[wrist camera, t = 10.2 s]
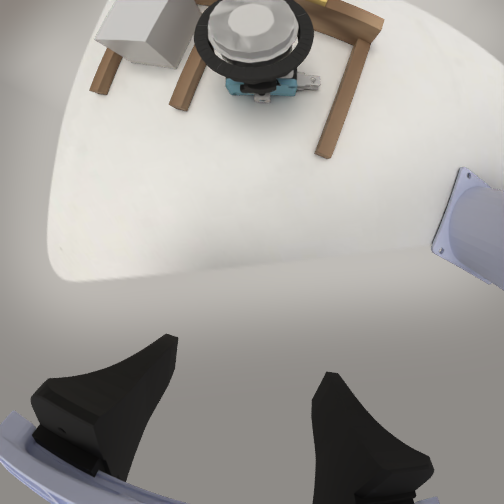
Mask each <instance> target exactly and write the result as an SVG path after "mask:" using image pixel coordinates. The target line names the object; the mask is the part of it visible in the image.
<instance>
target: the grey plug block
mask: <svg viewBox="0 0 504 504" xmlns="http://www.w3.org/2000/svg"><path fill="white" fill-rule="evenodd" d="M201 15H202V13H201V12H200V10H199V8H198V6H197V4H196V2H195V1H194V0H116V1H115V2H114V4H113V6H112V7H111V9H110V11H109V12H108V14H107V16H106V18H105V19H104V21H103V23H102V25H101V27H100V29H99V31H98V32H97V34H96V36H95V38H94V40H96V41H97V42H99V43H101V44H102V45H104V46H106V47H107V48H109V49H111V50H112V51H114V52H116V53H117V54H119V55H120V56H122V57H124V58H125V59H127V60H128V61H130V62H131V63H139V64H146V65H153V66H160V67H166V68H172V69H177V67H178V65H179V63H180V61H181V59H182V57H183V54H184V52H185V50H186V48H187V46H188V44H189V42H190V40H191V38H192V36H193V34H194V32H195V28H196V25H197V22H198V20H199V18H200V17H201Z"/></svg>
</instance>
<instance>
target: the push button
mask: <svg viewBox="0 0 504 504" xmlns="http://www.w3.org/2000/svg"><path fill="white" fill-rule="evenodd" d="M297 37H298V44H297V46H296V47H295V49H294V50H293V51H292V44H293V43H294V42H295V40H296V38H297ZM313 38H314V29H313V24H312V21H311V19H310V17H309V15H308V14H307V12H306V11H305V10H304V9H303V7H302V6H300V5H299V4H298V3H297V2H296V1H294V0H217V1H216V2H214V3H213V4H212V5H210V6H209V7H208V8H207V9H206V10H205V11H204V12H203V14H202V15H201V17H200V18H199V20H198V22H197V25H196V28H195V32H194V42H195V47H196V50H197V52H198V54H199V55H200V57H201V59H202V60H203V61H204V62H205V64H206V65H207V66H208V67H210V68H211V69H212V70H213V71H215V72H217V73H218V74H220V75H222V76H225V77H226V88H227V89H228V91H229V93H230V94H231V95H254V99H255V102H260V103H269V102H271V101H270V95H281V96H295V94H296V90H304V88H305V89H316V90H317V89H319V86H320V76H315V75H305V73H301V72H297V67H298V66H299V65H300V64H301V63H302V62H303V61H304V59H305V58H306V57H307V55H308V54H309V51H310V49H311V46H312V43H313ZM214 49H215V50H216V51H217V52H219V53H220V54H221V55H222V57H223V59H224V60H225V61H223V60H222V59H220V58H219V57H218V56H217V55H215V53H214ZM311 78H315V79H316V80H314V79H311ZM312 82H313V83H312ZM310 85H313V86H310ZM261 100H265V101H261Z"/></svg>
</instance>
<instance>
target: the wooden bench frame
mask: <svg viewBox="0 0 504 504" xmlns="http://www.w3.org/2000/svg"><path fill="white" fill-rule="evenodd" d="M194 1H195V2H196V4H200V5H209V6H210V5H212V4H213V3H214V2H216V1H217V0H194ZM294 1H296V2H297V3H298V4H299V5H300V6H302V7H303V9H304V10H305V11H306V12H307V14H308V15H309V17H310V19H311V21H312V24H313V29H314V30H315V31H318V32H321V33H324V34H326V35H329V36H332V37H334V38H337V39H339V40H342V41H344V42H347V43H349V44H351V45H354V46H353V49H352V52H351V55H350V58H349V61H348V63H347V66H346V69H345V72H344V75H343V78H342V80H341V83H340V86H339V89H338V91H337V94H336V97H335V100H334V102H333V105H332V108H331V111H330V113H329V116H328V119H327V121H326V124H325V127H324V129H323V132H322V135H321V137H320V140H319V143H318V145H317V148H316V151H315V153H314V154H317V155H319V156H321V157H324V158H326V159H329V158H331V156H332V154H333V151H334V149H335V146H336V143H337V140H338V138H339V135H340V132H341V130H342V127H343V124H344V121H345V119H346V116H347V113H348V110H349V107H350V104H351V102H352V99H353V96H354V93H355V90H356V87H357V84H358V81H359V78H360V75H361V72H362V69H363V66H364V63H365V60H366V57H367V54H368V51H369V48H370V45H371V43H372V42H373V40H374V39H375V38H376V36H377V35H378V34H379V33H380V31H381V29H382V26H383V23H384V19H383V18H381V17H378V16H376V15H374V14H372V13H370V12H368V11H365V10H363V9H361V8H358V7H356V6H354V5H351V4H349V3H346V2H344V1H341V0H294ZM121 59H122V56H120V55H119V54H117V53H116V52H114V51H112V50H111V49H109V48H107V49H106V51H105V54H104V56H103V58H102V60H101V63H100V65H99V67H98V70H97V72H96V74H95V77H94V79H93V82H92V85H91V87H90V90H89V91H92V92H95V93H98V94H104V95H107V93H108V91H109V88H110V85H111V83H112V80H113V78H114V76H115V73H116V71H117V68H118V66H119V64H120V62H121ZM205 67H206V64H205V62H204V61H203V60H202V59H201V57H200V55H199V54H198V52H197V50H196V47H195V45H194V47H193V49H192V51H191V53H190V55H189V57H188V60H187V62H186V64H185V66H184V69H183V71H182V73H181V75H180V78H179V80H178V82H177V85H176V87H175V90H174V92H173V95H172V97H171V100H170V102H169V105H170V106H172V107H174V108H176V109H180V110H184V111H187V110H188V108H189V105H190V103H191V100H192V98H193V95H194V93H195V90H196V88H197V85H198V83H199V81H200V78H201V76H202V74H203V71H204V69H205Z"/></svg>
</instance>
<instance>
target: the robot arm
mask: <svg viewBox="0 0 504 504" xmlns="http://www.w3.org/2000/svg"><path fill="white" fill-rule="evenodd" d="M467 174H468V175H469V177H467ZM440 248H442V251H441V252H440V253H439V250H440ZM431 250H432V252H433V253H434V254H436V255H438V256H440V257H442V258H444V259H446V260H447V261H449V262H451V263H453V264H455V265H456V266H458V267H460V268H462V269H463V270H465V271H467V272H469V273H471V274H472V275H474V276H476V277H477V278H479V279H481V280H482V281H484V282H486V283H487V284H491V283H493V284H495V285H496V286H498V287H499V288H501V289H502V290H504V191H503V190H498V189H492V188H491V187H490V186H489V185H488V184H486V183H485V182H484V181H483V180H482V179H480V178H479V177H478V176H477V175H475V174H474V173H473V172H471V171H470V170H469V169H468V168H466V167H461V168H460V170H459V173H458V176H457V180H456V183H455V186H454V189H453V192H452V195H451V198H450V201H449V203H448V206H447V209H446V212H445V214H444V217H443V219H442V222H441V224H440V227H439V229H438V232H437V234H436V237H435V239H434V241H433V244H432V246H431ZM177 344H178V337H175V336H172V335H169V334H165V335H163V336H162V337H160V338H159V339H158V340H156V341H155V342H153V343H152V344H150V345H149V346H147V347H146V348H144V349H143V350H141V351H139V352H138V353H136V354H134V355H133V356H131V357H129V358H127V359H125V360H123V361H121V362H119V363H117V364H115V365H112V366H110V367H107V368H105V369H102V370H98V371H95V372H91V373H88V374H83V375H78V376H72V377H63V378H49V379H48V380H46V381H45V382H44V383H43V384H42V385H41V386H40V387H39V389H38V390H37V391H36V392H35V393H34V394H33V396H32V397H31V404H32V407H33V410H34V412H35V414H36V416H37V418H38V420H39V422H40V425H39V426H38V428H37V429H36V427H35V426H34V425H33V424H32V423H31V422H29V421H28V420H27V419H25V418H24V417H23V416H21V415H20V414H19V413H18V412H16V411H14V410H13V411H12V412H11V413H10V414H9V415H8V416H7V417H6V419H5V420H4V421H3V422H2V423H1V424H0V462H1V463H2V465H3V466H4V467H5V468H6V469H7V470H8V471H9V472H10V473H11V474H13V475H14V476H15V477H16V478H18V479H19V480H20V481H21V482H22V483H24V484H25V485H26V486H28V487H29V488H30V489H31V490H33V491H34V492H36V493H37V494H38V495H40V496H41V497H42V498H44V499H45V500H47V501H48V502H50V503H51V504H188V503H185V502H181V501H178V500H174V499H171V498H168V497H164V496H161V495H158V494H155V493H152V492H150V491H147V490H144V489H141V488H139V487H136V486H134V485H131V484H129V483H126V480H127V476H128V473H129V470H130V467H131V464H132V461H133V459H134V456H135V453H136V450H137V448H138V445H139V442H140V440H141V437H142V435H143V432H144V430H145V427H146V425H147V423H148V421H149V419H150V417H151V415H152V413H153V411H154V410H155V408H156V406H157V404H158V403H159V401H160V399H161V397H162V395H163V394H164V392H165V390H166V388H167V387H168V385H169V382H170V379H171V377H172V375H173V372H174V370H175V362H176V353H177ZM311 416H312V427H313V436H314V443H315V453H316V472H315V488H314V496H313V504H440V503H439V500H438V497H432V498H428V499H424V500H421V501H418V502H416V503H414V501H413V498H415V497H416V493H415V490H416V489H418V488H419V487H420V486H421V485H423V484H424V483H425V482H426V481H427V480H428V479H429V478H431V476H432V475H433V473H434V468H433V465H432V463H431V460H430V457H429V456H427V455H425V454H423V453H421V452H419V451H417V450H414V449H413V448H411V447H409V446H408V445H406V444H405V443H403V442H401V441H400V440H399V439H397V438H396V437H394V436H393V435H392V434H391V433H389V432H388V431H387V430H386V429H384V428H383V427H382V426H381V425H380V424H379V423H378V422H377V421H376V420H375V419H374V418H373V417H372V416H371V415H370V414H369V413H368V412H367V411H366V409H365V408H364V407H363V406H362V404H361V403H360V402H359V401H358V399H357V398H356V397H355V396H354V394H353V393H352V392H351V390H350V389H349V387H348V386H347V385H346V383H345V382H344V381H343V379H342V378H341V376H340V375H339V374H338V373H332V372H326V374H325V376H324V378H323V380H322V382H321V384H320V385H319V387H318V389H317V391H316V393H315V395H314V397H313V399H312V415H311Z"/></svg>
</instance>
